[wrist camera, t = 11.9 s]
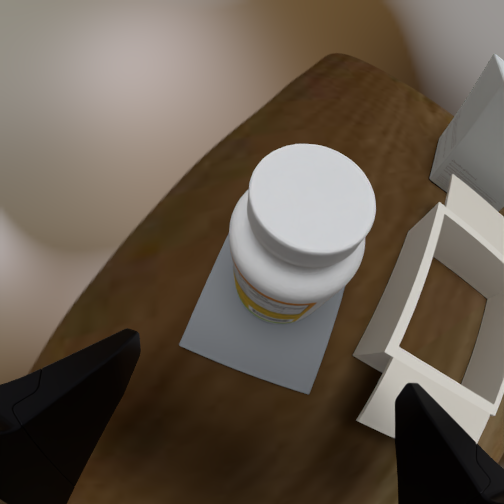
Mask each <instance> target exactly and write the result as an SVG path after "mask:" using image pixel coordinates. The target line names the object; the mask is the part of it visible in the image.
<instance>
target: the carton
mask: <svg viewBox="0 0 504 504" xmlns="http://www.w3.org/2000/svg"><path fill="white" fill-rule="evenodd" d="M433 257H434V258H436V259H437V260H439V261H440V262H441V263H443V264H444V265H445V266H447V267H448V268H449V269H451V270H452V271H453V272H454V273H456V274H457V275H458V276H460V277H461V278H462V279H463V280H465V281H466V282H467V283H468V284H470V285H471V286H472V287H473V288H475V289H476V290H477V291H478V292H480V293H481V294H482V295H483V296H484V297H486V298H487V303H486V307H485V311H484V315H483V319H482V323H481V327H480V330H479V334H478V337H477V340H476V344H475V347H474V350H473V353H472V356H471V359H470V362H469V364H468V367H467V370H466V373H465V375H464V378H463V380H462V383H461V384H459V383H457V382H456V381H454V380H452V379H451V378H449V377H448V376H446V375H444V374H443V373H441V372H439V371H438V370H436V369H434V368H433V367H431V366H430V365H428V364H426V363H425V362H423V361H421V360H420V359H418V358H417V357H415V356H413V355H412V354H410V353H408V352H407V351H405V350H403V349H402V348H400V347H399V345H400V342H401V340H402V338H403V336H404V333H405V331H406V329H407V326H408V324H409V322H410V319H411V317H412V314H413V312H414V309H415V307H416V304H417V302H418V299H419V296H420V294H421V291H422V288H423V285H424V282H425V279H426V277H427V274H428V271H429V267H430V264H431V261H432V258H433ZM352 356H354V357H356V358H357V359H359V360H361V361H363V362H364V363H366V364H368V365H370V366H371V367H373V368H375V369H376V370H378V371H380V372H382V373H383V374H382V376H381V378H380V380H379V381H378V383H377V385H376V387H375V389H374V391H373V392H372V394H371V396H370V398H369V399H368V401H367V403H366V405H365V406H364V408H363V410H362V411H361V413H360V415H359V416H358V418H357V419H356V421H358V422H360V423H362V424H364V425H366V426H369V427H371V428H373V429H375V430H377V431H379V432H381V433H384V434H386V435H388V436H390V437H392V438H395V400H396V398H397V396H398V395H399V393H400V392H401V391H402V389H403V388H404V386H405V385H406V384H407V383H418V384H419V385H420V386H421V387H422V388H423V389H424V390H425V391H426V392H427V393H428V394H429V395H430V396H431V397H432V398H433V399H434V400H435V401H436V402H437V403H438V404H439V405H440V406H441V407H442V408H443V409H444V410H445V411H446V412H447V413H448V414H449V415H450V416H451V417H452V418H453V419H454V420H455V421H456V422H457V423H458V424H459V425H460V426H461V427H462V428H463V429H464V430H465V431H466V432H467V433H468V434H469V436H470V437H471V438H472V439H473V440H474V441H475V442H476V444H477V442H478V440H479V438H480V436H481V434H482V432H483V430H484V428H485V425H486V423H487V421H488V418H489V416H495V414H496V412H497V409H498V407H499V404H500V401H501V399H502V396H503V393H504V217H503V216H502V215H501V214H500V213H499V212H498V211H497V210H496V209H494V208H493V207H492V206H491V205H490V204H489V203H488V202H487V201H486V200H484V199H483V198H482V197H481V196H480V195H479V194H477V193H476V192H475V191H474V190H473V189H471V188H470V187H469V186H468V185H467V184H465V183H464V182H463V181H462V180H460V179H459V178H458V177H456V176H455V175H454V174H452V175H451V176H450V182H449V187H448V192H447V197H446V201H445V206H444V205H443V204H441V203H440V202H439V203H438V204H437V205H436V206H435V207H433V208H432V209H431V210H430V211H429V212H428V213H427V214H426V215H425V216H424V217H423V218H422V219H421V220H420V221H419V222H418V223H417V224H416V225H415V226H414V227H412V228H411V229H410V230H409V231H408V234H407V236H406V239H405V242H404V244H403V247H402V250H401V252H400V255H399V257H398V260H397V262H396V265H395V267H394V270H393V272H392V274H391V277H390V279H389V281H388V284H387V286H386V288H385V290H384V293H383V295H382V297H381V299H380V301H379V304H378V306H377V308H376V310H375V312H374V314H373V316H372V318H371V320H370V322H369V324H368V326H367V328H366V330H365V332H364V334H363V336H362V338H361V340H360V342H359V344H358V346H357V348H356V349H355V351H354V353H353V355H352Z"/></svg>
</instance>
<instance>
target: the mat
mask: <svg viewBox="0 0 504 504" xmlns="http://www.w3.org/2000/svg"><path fill="white" fill-rule="evenodd" d="M344 288H345V286H344V287H343V288H342V289H341V290H340V291H339V292H337V293H336V294H335V295H334V296H332V297H331V298H330V299H329V300H327V301H326V302H325V303H324V304H322V305H321V306H320V307H318V308H317V309H316V310H315V311H313V312H312V313H311V314H309V315H308V316H306V317H305V318H303V319H301V320H299V321H296V322H293V323H288V324H274V323H269V322H266V321H263V320H261V319H259V318H258V317H256V316H254V315H253V314H252V313H251V312H250V311H248V310H247V309H246V307H245V306H244V305H243V303H242V302H241V300H240V298H239V296H238V293H237V289H236V285H235V279H234V271H233V263H232V256H231V250H230V239H229V234H228V236H227V238H226V240H225V242H224V245H223V247H222V249H221V251H220V253H219V256H218V258H217V260H216V262H215V264H214V267H213V269H212V271H211V273H210V275H209V278H208V280H207V282H206V284H205V287H204V289H203V291H202V293H201V296H200V298H199V300H198V302H197V305H196V307H195V309H194V312H193V314H192V316H191V319H190V321H189V323H188V325H187V328H186V330H185V332H184V335H183V337H182V339H181V342H180V344H179V346H182V347H184V348H186V349H188V350H190V351H193V352H195V353H197V354H200V355H202V356H204V357H207V358H209V359H211V360H214V361H216V362H219V363H221V364H224V365H226V366H229V367H231V368H234V369H236V370H239V371H241V372H244V373H247V374H249V375H252V376H255V377H258V378H260V379H263V380H266V381H269V382H272V383H275V384H278V385H280V386H283V387H287V388H290V389H293V390H296V391H299V392H302V393H306V394H309V393H310V391H311V388H312V386H313V383H314V380H315V378H316V375H317V372H318V369H319V367H320V364H321V361H322V358H323V355H324V352H325V349H326V347H327V344H328V341H329V338H330V334H331V331H332V328H333V325H334V322H335V319H336V316H337V312H338V309H339V306H340V302H341V299H342V295H343V292H344Z"/></svg>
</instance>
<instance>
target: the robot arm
mask: <svg viewBox="0 0 504 504" xmlns="http://www.w3.org/2000/svg"><path fill="white" fill-rule="evenodd" d="M140 351H141V349H140V338H139V333H138V332H137V331H134V330H131V329H124V330H122V331H120V332H118V333H116V334H114V335H112V336H109V337H107V338H105V339H103V340H101V341H99V342H97V343H95V344H93V345H91V346H89V347H86V348H84V349H82V350H80V351H78V352H76V353H74V354H72V355H69V356H67V357H65V358H63V359H61V360H59V361H57V362H55V363H52V364H50V365H48V366H46V367H44V368H42V369H39V370H37V371H35V372H33V373H31V374H28V375H26V376H24V377H21V378H19V379H16V380H13V381H11V382H8V383H5V384H2V385H0V504H67V502H68V500H69V498H70V496H71V494H72V492H73V490H74V488H75V487H74V486H75V485H76V483H77V481H78V479H79V477H80V475H81V473H82V471H83V469H84V467H85V465H86V463H87V461H88V459H89V458H90V456H91V454H92V452H93V450H94V448H95V446H96V444H97V442H98V440H99V438H100V437H101V435H102V433H103V431H104V429H105V427H106V425H107V424H108V422H109V420H110V418H111V416H112V414H113V413H114V411H115V409H116V407H117V405H118V404H119V402H120V400H121V398H122V396H123V394H124V392H125V390H126V388H127V385H128V383H129V380H130V378H131V375H132V373H133V371H134V368H135V366H136V363H137V361H138V359H139V356H140ZM395 447H396V459H397V474H398V504H504V469H503V468H502V467H501V466H500V465H498V464H497V463H496V462H495V461H494V460H493V459H492V458H491V457H490V456H489V455H488V454H487V453H486V452H485V451H484V450H483V449H482V448H481V447H480V446H479V445H478V444H476V442H475V441H474V440H473V439H472V438H471V437H470V436H469V434H468V433H467V432H466V431H465V430H464V429H463V428H462V427H461V426H460V425H459V424H458V423H457V422H456V421H455V420H454V419H453V418H452V417H451V416H450V415H449V414H448V413H447V412H446V411H445V410H444V409H443V408H442V407H441V406H440V405H439V404H438V403H437V402H436V401H435V400H434V399H433V398H432V397H431V396H430V395H429V394H428V393H427V392H426V391H425V390H424V389H423V388H422V387H421V386H420V385H419V384H418V383H407V384H406V385H405V386H404V388H403V389H402V391H401V392H400V393H399V395H398V396H397V398H396V400H395Z"/></svg>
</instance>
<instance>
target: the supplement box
mask: <svg viewBox="0 0 504 504" xmlns="http://www.w3.org/2000/svg"><path fill="white" fill-rule="evenodd" d="M452 174H454V175H455V176H456V177H458V178H459V179H460V180H462V181H463V182H464V183H465V184H467V185H468V186H469V187H470V188H471V189H473V190H474V191H475V192H476V193H477V194H479V195H480V196H481V197H482V198H483V199H484V200H486V201H487V202H488V203H489V204H490V205H491V206H492V207H493V208H494V209H496V210H497V211H499V210H500V209H502V208H503V207H504V60H503V59H501V58H500V57H499V56H497V55H495V54H493V56H492V58H491V59H490V61H489V62H488V64H487V66H486V67H485V69H484V71H483V72H482V74H481V76H480V77H479V79H478V81H477V82H476V84H475V86H474V87H473V89H472V91H471V92H470V94H469V95H468V97H467V98H466V100H465V101H464V103H463V104H462V106H461V108H460V109H459V111H458V112H457V114H456V115H455V117H454V118H453V120H452V121H451V122H450V124H449V125H448V127H447V128H446V129H445V131H444V132H443V134H442V135H441V137H440V138H439V141H438V145H437V150H436V154H435V158H434V162H433V166H432V170H431V174H430V180H431V181H432V182H434V183H435V184H436V185H438V186H439V187H440V188H442V189H443V190H444V191H446V192H448V187H449V182H450V176H451V175H452Z"/></svg>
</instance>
